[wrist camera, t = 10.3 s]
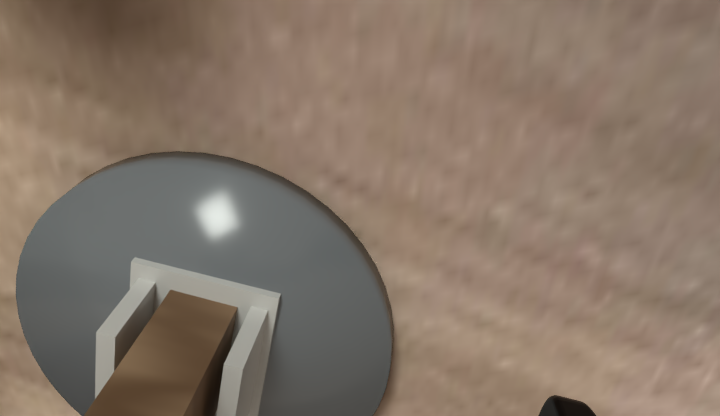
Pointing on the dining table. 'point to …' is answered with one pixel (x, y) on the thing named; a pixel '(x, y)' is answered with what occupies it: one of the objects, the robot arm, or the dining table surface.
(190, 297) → the brown wooden block
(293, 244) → the grey flat bracketed disc
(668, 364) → the dining table surface
